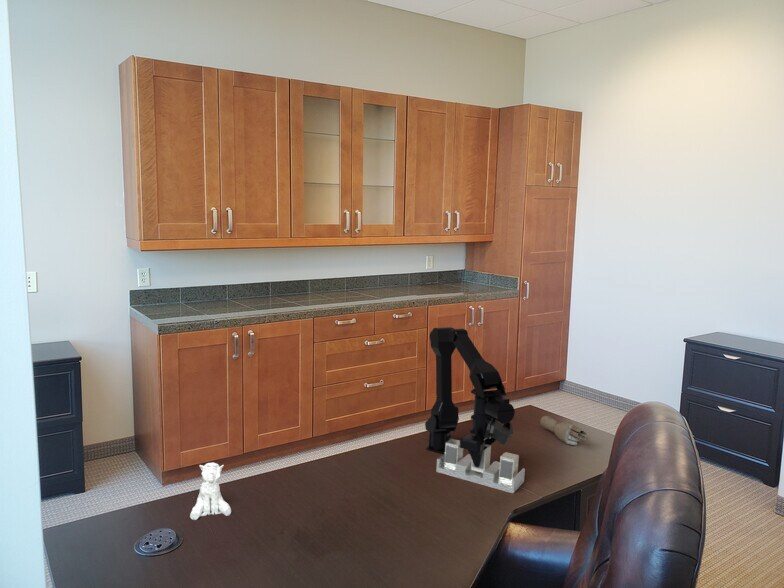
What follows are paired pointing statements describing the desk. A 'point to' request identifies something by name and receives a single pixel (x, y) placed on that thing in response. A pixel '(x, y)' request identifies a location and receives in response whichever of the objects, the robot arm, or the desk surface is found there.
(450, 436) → the robot arm
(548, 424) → the mannequin hand
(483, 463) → the white rectangular block
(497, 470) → the white slotted block stand
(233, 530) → the desk surface
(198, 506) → the seated beast figurine
